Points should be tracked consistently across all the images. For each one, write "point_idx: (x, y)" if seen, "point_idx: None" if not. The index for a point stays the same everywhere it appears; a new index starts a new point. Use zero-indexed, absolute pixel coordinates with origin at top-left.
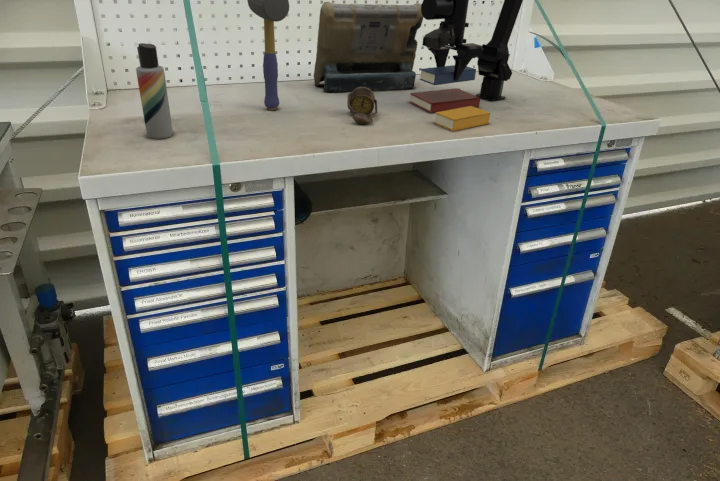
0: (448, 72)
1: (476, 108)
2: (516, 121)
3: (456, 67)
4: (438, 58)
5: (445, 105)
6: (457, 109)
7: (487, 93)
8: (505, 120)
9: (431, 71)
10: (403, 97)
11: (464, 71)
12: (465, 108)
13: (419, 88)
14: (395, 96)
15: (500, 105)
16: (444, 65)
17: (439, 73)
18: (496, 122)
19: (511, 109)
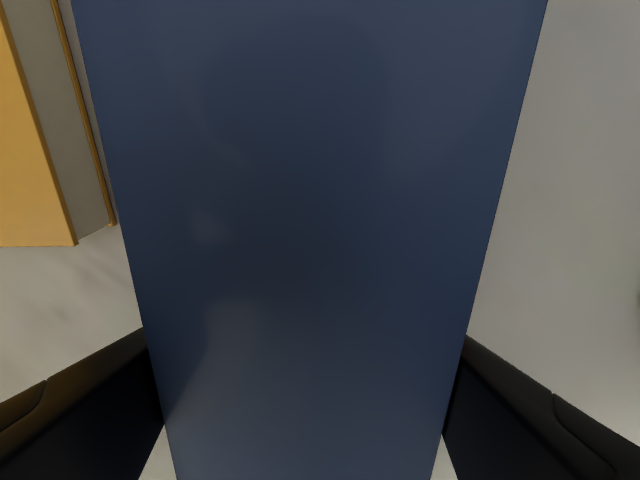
0: (136, 269)
1: (12, 235)
2: (11, 356)
3: (28, 399)
4: (555, 472)
5: None
6: (4, 98)
7: None
8: (31, 328)
9: (283, 33)
10: (581, 131)
11: (179, 468)
12: (23, 171)
13: (622, 330)
14: (634, 94)
15: None
16: (448, 443)
17: (99, 74)
18: (7, 276)
19: (164, 439)
